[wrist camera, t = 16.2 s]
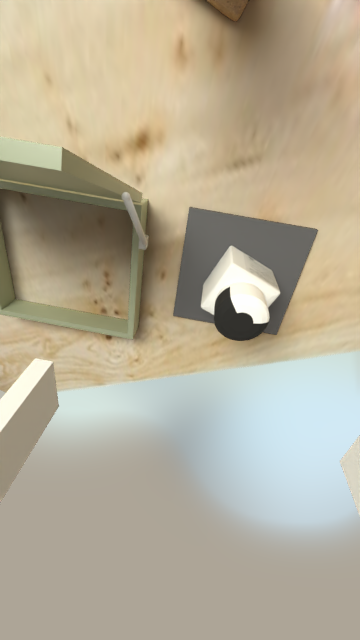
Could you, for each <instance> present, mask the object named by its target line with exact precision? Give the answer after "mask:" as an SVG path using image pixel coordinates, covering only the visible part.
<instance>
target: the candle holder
mask: <svg viewBox="0 0 360 640" xmlns="http://www.w3.org/2000/svg"><path fill="white" fill-rule="evenodd" d="M206 1H207V2H208V3H210V4H211V5H212V6H213V7H215V8H216V9H217V10H218V11H220V12H221V13H222V14H224V15H225V16H227V17H228V18H230V19H231V20H232V21H236V22H237V20H238V19H239V18H240V16H241V14H242V12H243V11H244V9H245V7H246V5H247V3H248V1H249V0H206Z"/></svg>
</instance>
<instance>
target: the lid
mask: <svg viewBox="0 0 360 640" xmlns="http://www.w3.org/2000/svg"><path fill="white" fill-rule="evenodd" d="M0 179H5V180H11V181H16V182H22V183H28V184H34V185H39V186H45V187H51V188H56V189H62V190H68V191H74V192H79V193H85V194H91V195H96V196H102V197H108V198H114V199H119V200H123V199H122V194H123V193H124V192H128V193H129V194H130V197H131V199H132V202H136V203H141V201H142V193H141V192H139V191H137V190H136V189H134V188H132V187H130V186H129V185H127V184H125V183H123V182H122V181H120V180H118V179H116V178H115V177H113V176H111V175H110V174H108V173H106V172H104V171H103V170H101V169H99V168H97V167H96V166H94V165H92V164H90V163H89V162H87V161H85V160H83V159H82V158H80V157H78V156H76V155H75V154H73V153H71V152H70V151H68V150H66V149H64V148H63V147H58V146H52V145H46V144H40V143H35V142H29V141H23V140H17V139H11V138H5V137H0Z"/></svg>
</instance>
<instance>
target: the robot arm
mask: <svg viewBox="0 0 360 640" xmlns="http://www.w3.org/2000/svg"><path fill="white" fill-rule="evenodd" d="M58 407H59V404H58V396H57V389H56V381H55V373H54V365H53V362H52V361H46V360H41V359H36V358H35V359H34V360H33V362H32V363H31V364H30V365H29V366H28V367H27V369H26V370H25V371H24V372H23V373H22V375H21V376H20V377H19V378H18V379H17V381H16V382H15V383H14V384H13V385H12V386H11V388H10V389H9V390H8V391H7V392H6V394H5V395H4V396H3V397H2V398H1V400H0V503H1V501H2V499H3V498H4V496H5V494H6V493H7V491H8V489H9V488H10V486H11V484H12V482H13V481H14V479H15V478H16V476H17V474H18V473H19V471H20V470H21V468H22V466H23V465H24V463H25V461H26V460H27V458H28V456H29V455H30V452H31V451H32V449H33V448H34V446H35V445H36V443H37V441H38V439H39V438H40V436H41V435H42V433H43V431H44V430H45V428H46V427H47V425H48V423H49V422H50V420H51V418H52V417H53V415H54V413H55V412H56V410H57V408H58ZM340 463H341V466H342V469H343V472H344V474H345V477H346V480H347V483H348V485H349V488H350V491H351V494H352V496H353V499H354V502H355V505H356V507H357V510H358V513H359V516H360V436H359V437H358V438H357V440H356V441H355V442H354V443H353V445H352V446H351V447H350V449H349V450H348V451H347V453H346V454H345V455H344V457H343V458H342V459H341V460H340Z"/></svg>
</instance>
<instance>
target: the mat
mask: <svg viewBox="0 0 360 640" xmlns="http://www.w3.org/2000/svg"><path fill="white" fill-rule="evenodd" d="M317 231H318V230H317V229H313V228H307V227H302V226H296V225H290V224H284V223H279V222H273V221H267V220H261V219H256V218H250V217H244V216H239V215H233V214H227V213H221V212H216V211H210V210H204V209H198V208H193V207H190V208H189V214H188V221H187V227H186V234H185V241H184V247H183V254H182V260H181V267H180V274H179V280H178V287H177V294H176V300H175V307H174V313H173V316H178V317H183V318H188V319H194V320H199V321H205V322H210V323H214V315H213V314H211V313H209V312H207V311H206V310H204V309H202V308H201V300H202V292H203V284H204V282H205V281H206V279H207V278H208V277H209V275H210V274H211V272H212V271H213V269H214V268H215V267H216V265H217V264H218V262H219V261H220V259H221V258H222V256H223V255H224V254H225V252H226V251H227V249H228V248H229V247H230V246H234V247H235V248H237V249H238V250H240V251H242V252H243V253H245V254H246V255H248V256H250V257H251V258H253V259H254V260H256V261H258V262H259V263H261V264H262V265H264V266H266V267H267V268H269V269H270V270H272V272H273V274H274V277H275V280H276V282H277V285H278V288H279V290H280V295H279V296H278V297H277V298H276V299H275V301H274V302H273V303H272V304H271V305H270V306H269V307H268V311H269V322H268V325H267V327H266V329H265V330H264V331H263V332H264V333H269V334H275V335H277V332H278V329H279V327H280V324H281V322H282V319H283V317H284V314H285V312H286V309H287V307H288V304H289V302H290V299H291V297H292V294H293V292H294V289H295V287H296V284H297V282H298V279H299V276H300V274H301V271H302V269H303V266H304V264H305V261H306V259H307V256H308V254H309V251H310V249H311V246H312V244H313V241H314V239H315V236H316V234H317Z"/></svg>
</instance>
